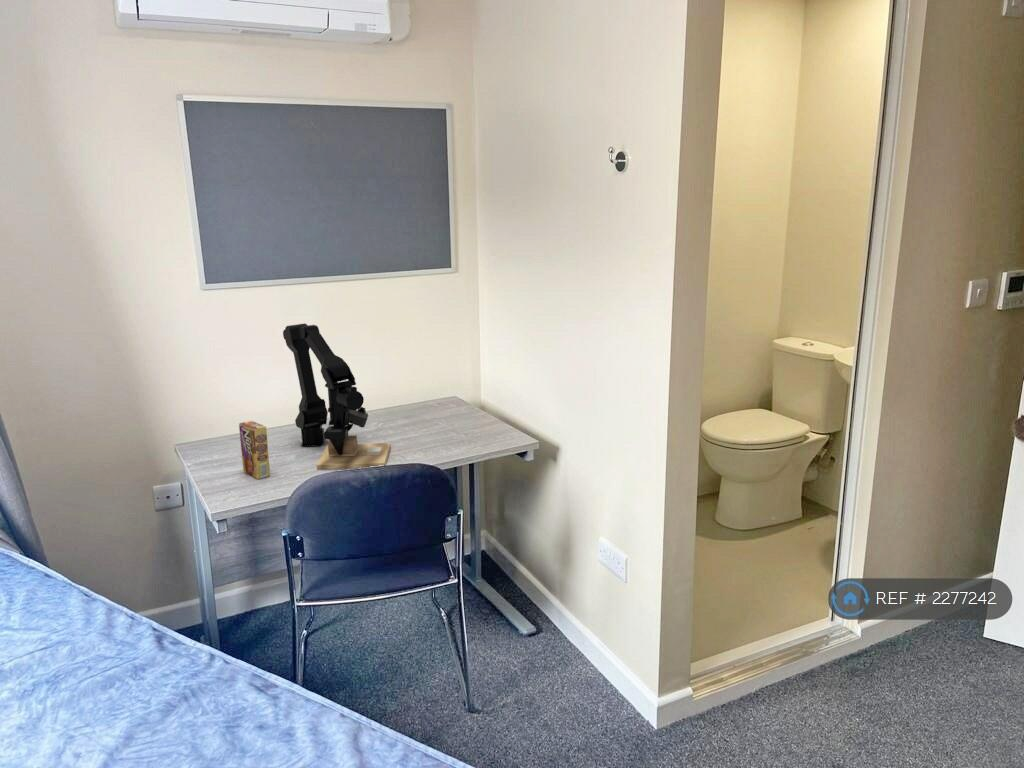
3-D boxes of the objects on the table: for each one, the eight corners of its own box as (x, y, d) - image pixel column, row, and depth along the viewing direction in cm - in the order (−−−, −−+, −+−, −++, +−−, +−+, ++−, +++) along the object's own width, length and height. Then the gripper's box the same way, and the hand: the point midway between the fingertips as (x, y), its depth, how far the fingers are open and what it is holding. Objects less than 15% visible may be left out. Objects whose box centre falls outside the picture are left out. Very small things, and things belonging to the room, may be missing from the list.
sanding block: (328, 456, 229) (327, 441, 228) (332, 451, 234) (330, 435, 232) (355, 456, 229) (354, 440, 228) (357, 450, 234) (356, 435, 233)
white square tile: (367, 455, 230) (366, 451, 230) (368, 451, 234) (368, 447, 234) (380, 455, 230) (380, 451, 230) (381, 450, 234) (381, 447, 234)
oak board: (316, 469, 223) (316, 464, 223) (328, 449, 240) (327, 444, 240) (384, 467, 224) (384, 463, 224) (390, 447, 241) (390, 443, 241)
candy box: (271, 475, 219) (266, 426, 215) (258, 479, 216) (252, 429, 212) (256, 468, 225) (251, 419, 221) (243, 472, 222) (237, 423, 218)
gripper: (360, 411, 219) (363, 461, 223) (369, 394, 237) (372, 441, 241) (322, 412, 218) (326, 462, 222) (333, 395, 236) (337, 442, 240)
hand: (342, 451), depth 231 cm, fingers closed on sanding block, 5 cm apart
